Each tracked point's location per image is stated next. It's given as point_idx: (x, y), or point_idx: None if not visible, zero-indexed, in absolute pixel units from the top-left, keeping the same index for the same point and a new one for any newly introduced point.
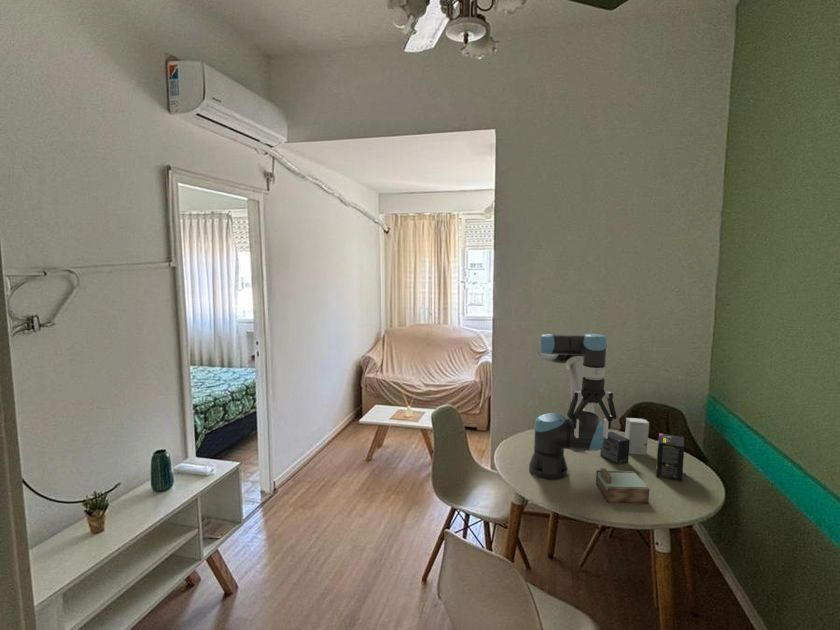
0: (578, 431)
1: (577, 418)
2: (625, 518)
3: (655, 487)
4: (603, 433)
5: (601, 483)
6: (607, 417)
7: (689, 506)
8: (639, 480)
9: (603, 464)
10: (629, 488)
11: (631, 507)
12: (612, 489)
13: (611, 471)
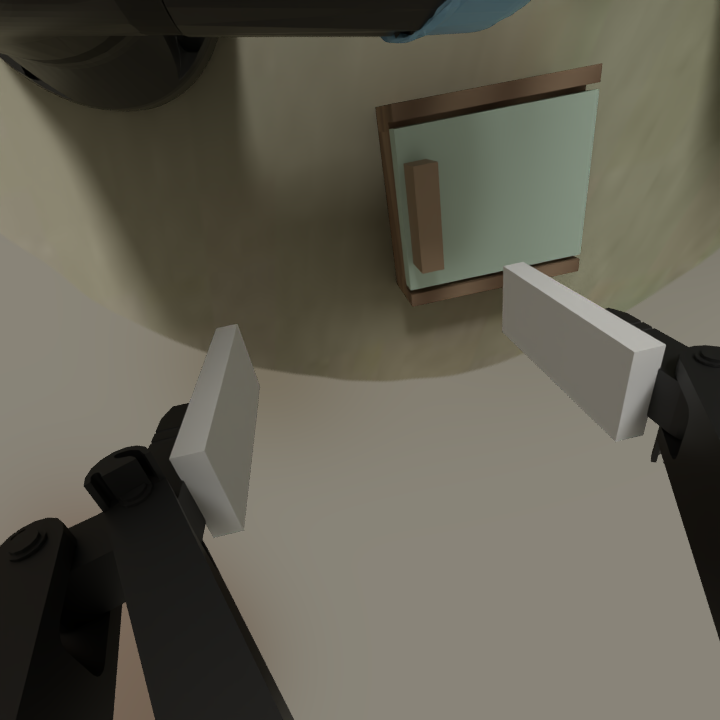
0: (253, 428)
1: (213, 561)
2: (430, 367)
3: (646, 80)
4: (516, 286)
5: (395, 202)
6: (673, 471)
7: (676, 234)
8: (577, 189)
9: None
10: (498, 285)
11: (471, 294)
12: (426, 302)
13: (474, 99)
